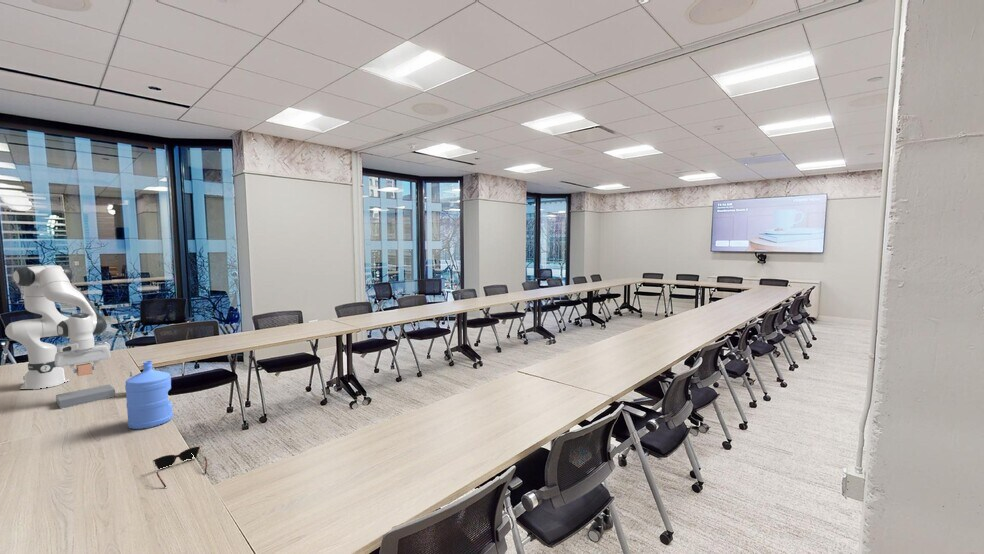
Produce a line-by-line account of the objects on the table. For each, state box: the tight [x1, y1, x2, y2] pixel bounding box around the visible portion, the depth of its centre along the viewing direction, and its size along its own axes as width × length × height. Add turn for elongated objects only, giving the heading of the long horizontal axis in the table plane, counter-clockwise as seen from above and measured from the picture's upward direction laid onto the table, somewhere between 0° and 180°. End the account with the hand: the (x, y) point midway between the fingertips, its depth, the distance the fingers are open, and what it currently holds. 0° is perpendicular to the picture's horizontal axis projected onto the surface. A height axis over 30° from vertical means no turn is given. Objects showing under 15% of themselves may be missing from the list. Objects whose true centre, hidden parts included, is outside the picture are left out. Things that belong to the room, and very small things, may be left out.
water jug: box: [124, 360, 174, 430], centre depth 179 cm, size 16×16×28 cm
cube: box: [75, 362, 93, 377], centre depth 206 cm, size 5×5×5 cm
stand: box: [55, 384, 116, 410], centre depth 207 cm, size 13×20×4 cm, turn 143°
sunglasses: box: [152, 446, 208, 488], centre depth 140 cm, size 14×16×5 cm
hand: (84, 371), depth 206 cm, fingers closed on cube, 5 cm apart
